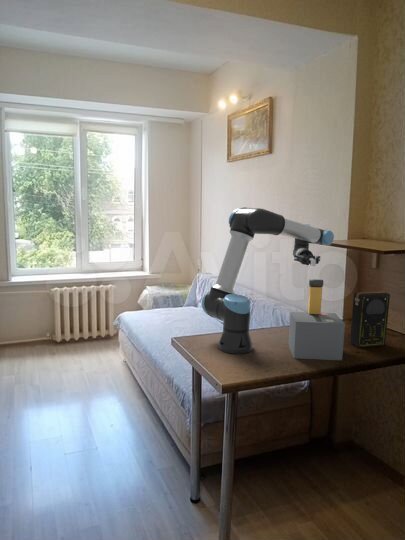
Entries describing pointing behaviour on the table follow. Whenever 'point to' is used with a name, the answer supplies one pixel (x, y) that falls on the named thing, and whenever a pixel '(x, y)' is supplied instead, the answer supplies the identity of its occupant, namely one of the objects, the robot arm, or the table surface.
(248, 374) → the table surface
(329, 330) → the box
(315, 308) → the yellow tall block
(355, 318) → the voltmeter
